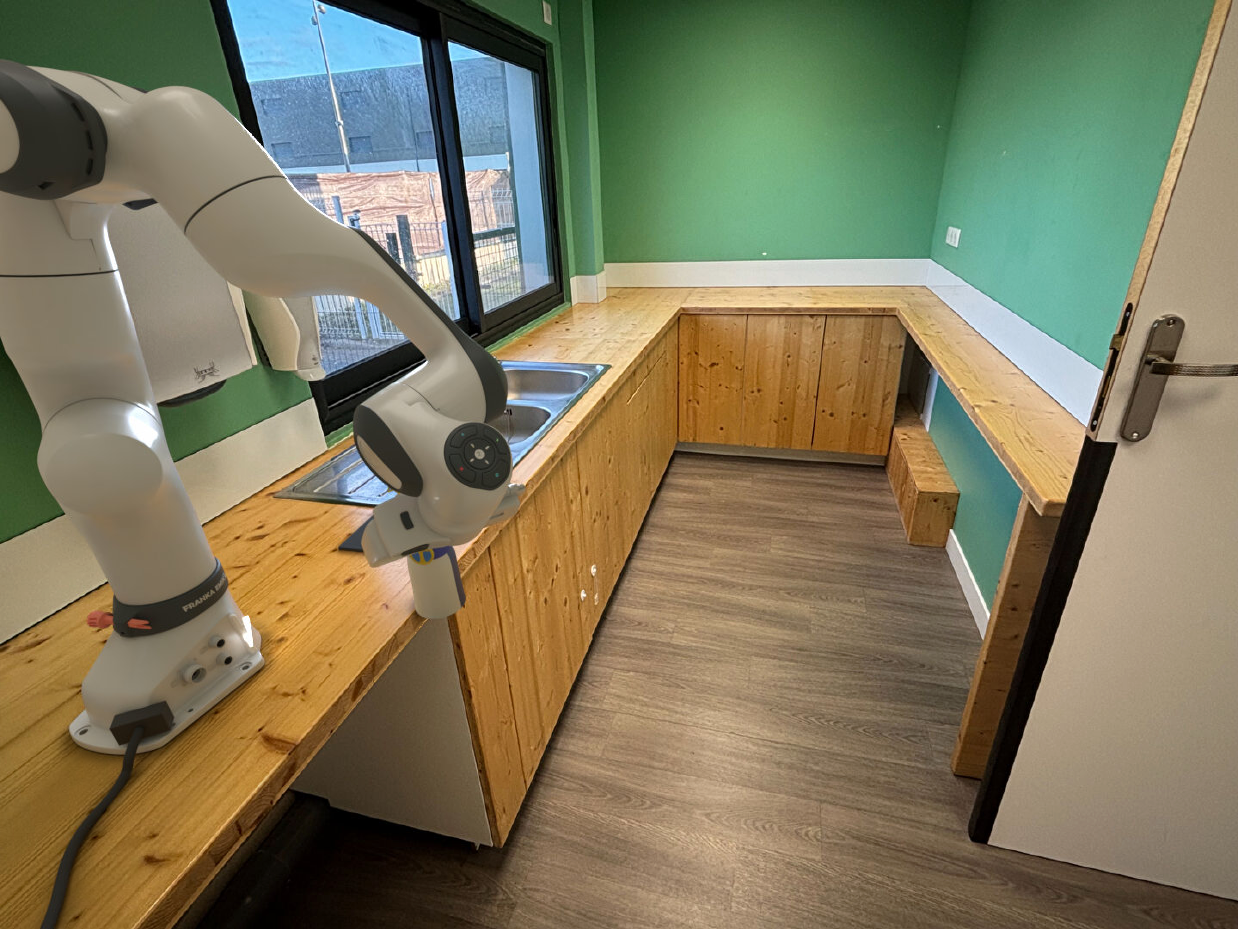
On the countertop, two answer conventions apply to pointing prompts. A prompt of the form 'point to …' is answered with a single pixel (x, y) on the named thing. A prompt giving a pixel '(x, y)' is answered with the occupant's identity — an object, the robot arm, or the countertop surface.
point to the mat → (355, 539)
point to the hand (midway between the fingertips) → (437, 540)
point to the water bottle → (435, 581)
